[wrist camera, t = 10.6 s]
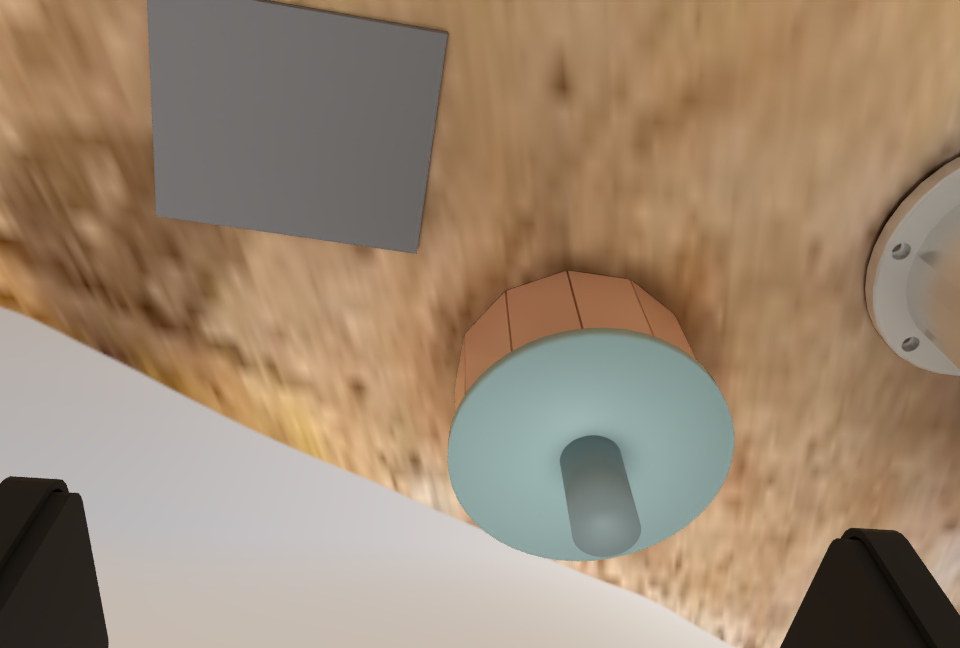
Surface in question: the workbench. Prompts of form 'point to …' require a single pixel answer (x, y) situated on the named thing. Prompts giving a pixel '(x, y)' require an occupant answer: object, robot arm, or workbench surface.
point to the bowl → (561, 318)
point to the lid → (590, 444)
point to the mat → (293, 119)
